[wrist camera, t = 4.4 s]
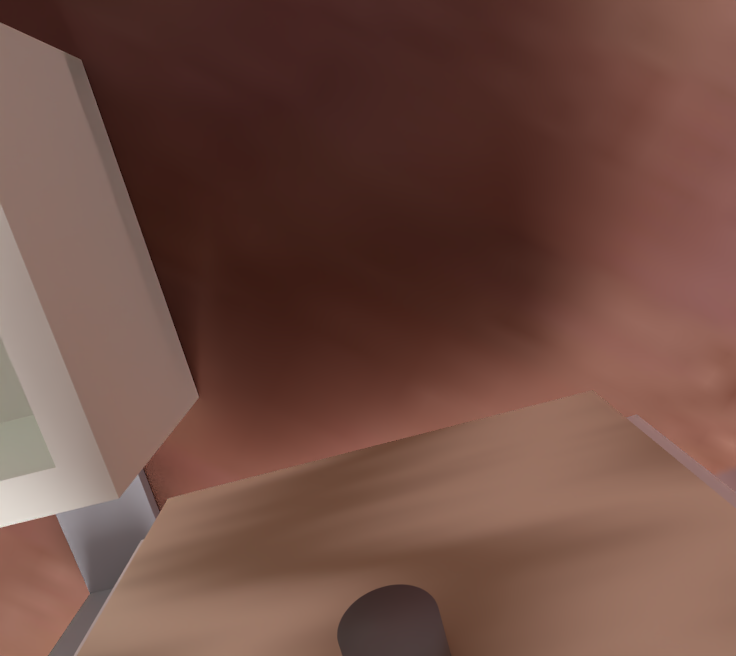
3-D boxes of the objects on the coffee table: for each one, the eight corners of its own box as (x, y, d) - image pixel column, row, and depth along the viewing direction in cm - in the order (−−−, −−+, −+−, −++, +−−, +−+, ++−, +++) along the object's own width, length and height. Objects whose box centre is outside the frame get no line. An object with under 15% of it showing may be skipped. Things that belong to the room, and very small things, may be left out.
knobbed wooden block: (222, 639, 14) (20, 1365, 5) (154, 463, 13) (-240, 1027, 4) (618, 541, 14) (1077, 1138, 5) (586, 353, 13) (1107, 714, 4)
